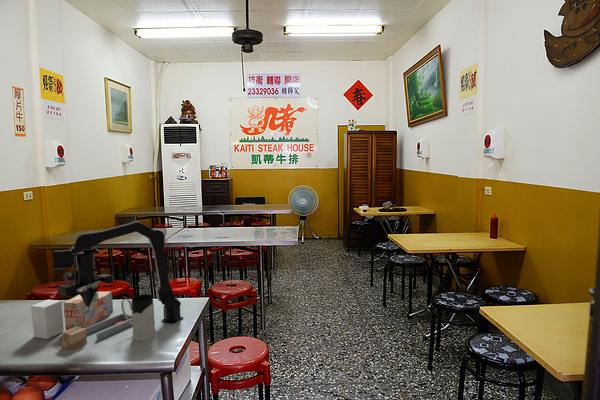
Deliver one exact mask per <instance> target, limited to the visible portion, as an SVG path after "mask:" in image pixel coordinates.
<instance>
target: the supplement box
mask: <svg viewBox="0 0 600 400" xmlns="http://www.w3.org/2000/svg"><path fill="white" fill-rule="evenodd" d="M30 309H31V310H30V311H31V320H32V321H31V322H32V330H33V338H38V339H45V340H48V339H51V338H52V337H55V336H57V335H59V334H62V332H64V331H65V329H64V317H63V316H64V315H63V305H62V300H56V299H55V300H54V299H45V300H43V301H40V302H38V303H36V304H31V305H30Z"/></svg>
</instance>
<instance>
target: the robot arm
mask: <svg viewBox="0 0 600 400" xmlns="http://www.w3.org/2000/svg"><path fill="white" fill-rule="evenodd" d="M133 233H139V234H140V235H141V236H143V237H145V238H147V239H148V242H149V245H150V247H151V249H152V252H153V258H154V262H155V270H156V274H157V279H158V280H157V281H158V286H156V287H155V288H154V289H155V290H154V291H155V292H156V295H155V296H156V298H157V300H158V301H159V302H160V303H161V305H163V319H161V322H162V323H163V322H164V323H168V324H172V325H173V324H175V323H177V322H178V321H180V320H183V319H184V316H181V304H182V303H181V301H180V300H179V299H178V297H177V295H175V293H174V291H173V288H172V285H171V284H170V280H169V273H168V269H167V268H168V267H167V262H166V257H165V250H164V249H165V241H166V240H165V239H166V237H165V233H164V232H163V231H162V230H161V229H159V228H157V227H154V228H153V227H150V226H148V225H146V224H144V223H142V222H140V221H139V220H134V221H131V222H128V223H125V224H121V225H117V226H113V227H110V228H106V229H102V230H90V231H83V232H80V233H78V235H76V239H75V243H73V245H72V246H71V247H70V249H64V250H63V249H62V250H53V252H52V253H53V255H52V258H53V259H52V267H53V268H52V269H53V270H62V269H72V267H73V266H74V265H75V264H76V268H75V269H74V273H72V272H71V271H68V272H65V273H63V276H62V277H63V281H64V282H65V284H61V285H59V286H57V294H58V295H62V296H66V297H69V296H72V295H76V293H78V295H80V296H81V297H82V299H83V301H84V303H85V305H86V306H87V307H88V306H90V304H91V302H92V300H93V297H94V296H95V294H96V292H98V290H99V289H101V286H99V284H100V283H105V284H106V285H108V284H112V283H114V281H115V279H114V276H113V275H112V274H107V273H103V274H102V273H101V274H98V275H96V272H97V271H98V268H97V267H95V266H96V265H95V264H96V263H95V254H100V250H99V249H98V248H97V247H96V246H97V245H100V244H101V243H103V242H105V241H108V240H111V239H116V238H118V237H122V236H123V237H124V236H126V235H130V234H133ZM75 257H76V259H75ZM75 260H76V262H75ZM66 282H68V283H66ZM73 283H74V284H73Z"/></svg>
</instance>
